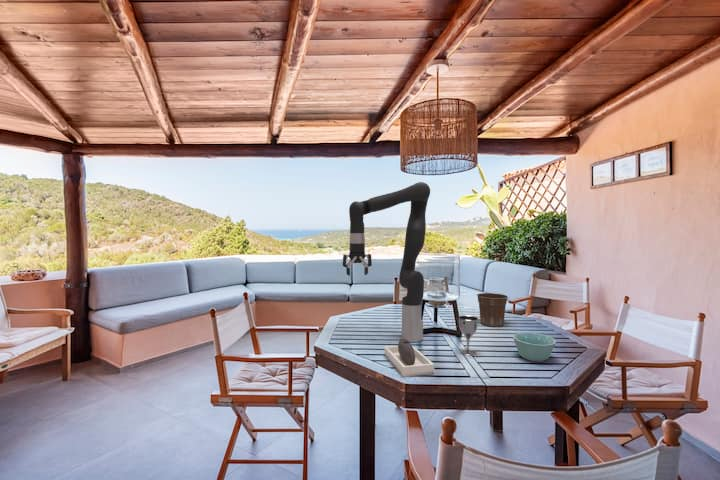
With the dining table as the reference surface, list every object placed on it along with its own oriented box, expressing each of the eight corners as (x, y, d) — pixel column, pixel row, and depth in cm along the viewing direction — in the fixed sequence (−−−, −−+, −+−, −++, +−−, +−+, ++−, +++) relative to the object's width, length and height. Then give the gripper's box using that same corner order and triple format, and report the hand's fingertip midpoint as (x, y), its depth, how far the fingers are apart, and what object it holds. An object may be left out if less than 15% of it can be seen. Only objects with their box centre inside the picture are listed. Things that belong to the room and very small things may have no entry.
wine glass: (467, 356, 145) (468, 321, 144) (454, 350, 152) (454, 316, 151) (481, 353, 148) (482, 318, 148) (468, 348, 156) (468, 314, 155)
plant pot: (474, 319, 204) (474, 292, 204) (502, 320, 202) (503, 293, 201) (479, 327, 188) (480, 297, 187) (511, 328, 186) (511, 298, 185)
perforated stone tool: (418, 368, 130) (418, 350, 130) (404, 369, 129) (404, 350, 129) (409, 354, 145) (409, 337, 145) (397, 354, 144) (397, 338, 144)
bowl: (554, 368, 133) (554, 347, 133) (510, 360, 141) (510, 340, 141) (556, 355, 146) (556, 336, 146) (515, 348, 155) (516, 330, 155)
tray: (411, 352, 149) (411, 344, 149) (434, 373, 128) (434, 364, 128) (384, 355, 146) (384, 347, 146) (403, 377, 125) (403, 367, 125)
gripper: (369, 242, 177) (369, 273, 178) (341, 242, 174) (341, 274, 174) (373, 242, 170) (373, 275, 170) (344, 242, 167) (344, 276, 167)
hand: (357, 275), depth 172 cm, fingers open, 8 cm apart
